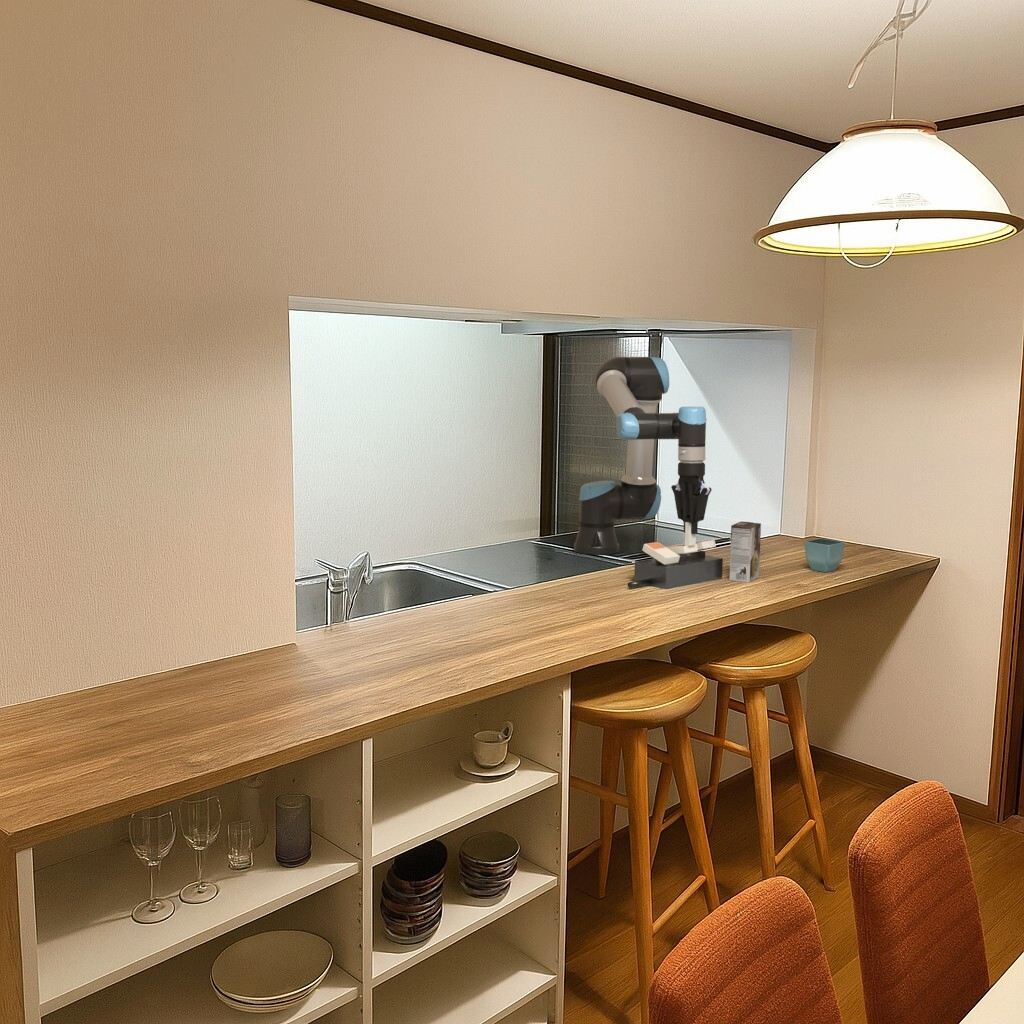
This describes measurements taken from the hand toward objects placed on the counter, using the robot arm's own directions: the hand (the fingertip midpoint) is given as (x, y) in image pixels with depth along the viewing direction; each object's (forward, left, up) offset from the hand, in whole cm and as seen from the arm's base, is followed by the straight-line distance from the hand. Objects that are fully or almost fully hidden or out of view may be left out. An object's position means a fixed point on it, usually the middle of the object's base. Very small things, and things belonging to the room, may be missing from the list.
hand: (690, 545), depth 276 cm
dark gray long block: (-4, -4, -11) cm, 12 cm away
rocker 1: (-4, -8, -3) cm, 9 cm away
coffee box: (+6, +17, -11) cm, 21 cm away
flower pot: (+13, +46, -11) cm, 49 cm away
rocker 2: (-4, 0, -3) cm, 5 cm away
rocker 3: (-4, +8, -3) cm, 9 cm away
